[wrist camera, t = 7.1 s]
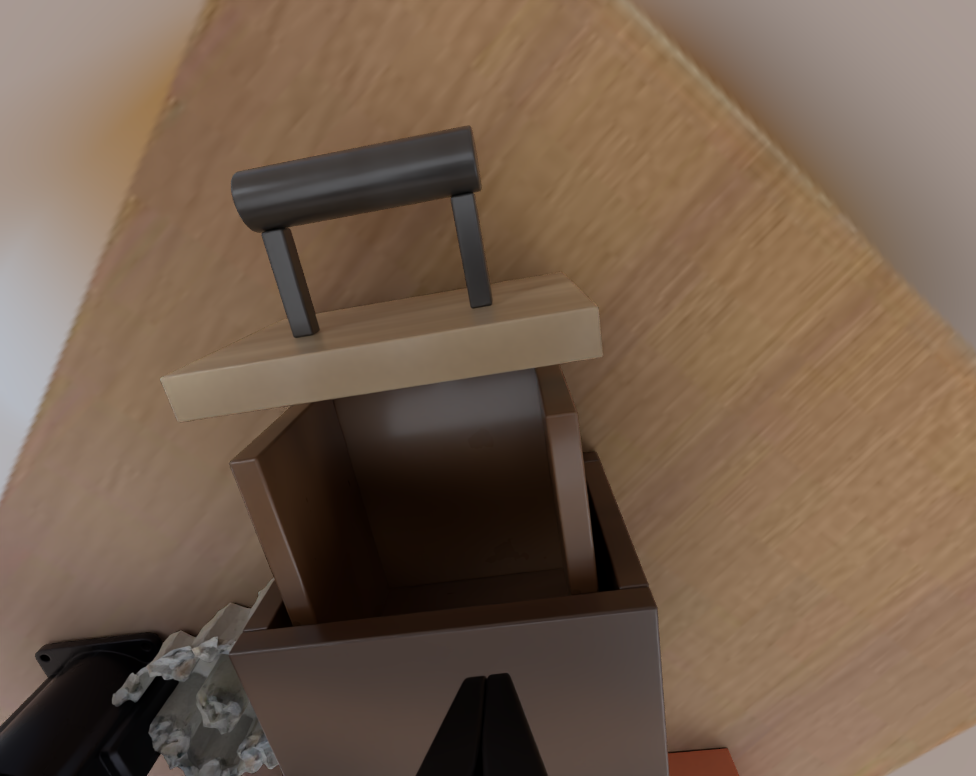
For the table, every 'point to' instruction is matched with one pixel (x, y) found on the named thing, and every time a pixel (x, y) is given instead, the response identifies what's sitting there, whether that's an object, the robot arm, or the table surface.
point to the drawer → (405, 408)
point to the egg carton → (204, 701)
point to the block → (702, 763)
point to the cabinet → (470, 672)
